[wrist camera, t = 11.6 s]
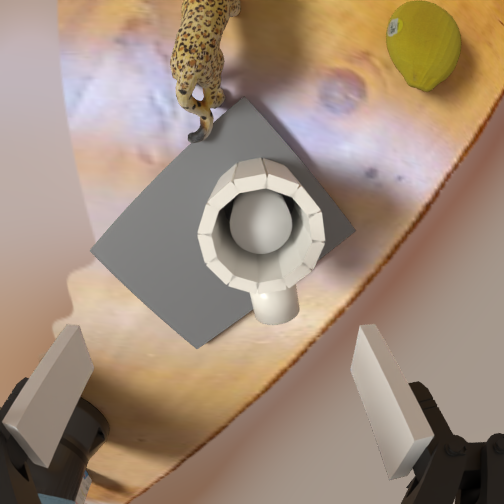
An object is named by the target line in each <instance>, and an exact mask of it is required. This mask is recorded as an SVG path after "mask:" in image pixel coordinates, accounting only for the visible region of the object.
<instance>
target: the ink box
mask: <svg viewBox="0 0 504 504" xmlns="http://www.w3.org/2000/svg"><path fill="white" fill-rule="evenodd" d="M91 482H92V480H91V478H90V477H89V475H88V473H87V471H86V470H85V473H84V476H83V479H82V482H81V485H80V488H79V491H78V494H77V497H76V500H75V502H76V503H75V504H84V502H85V499H86V496H87V493H88V490H89V487H90V485H91Z"/></svg>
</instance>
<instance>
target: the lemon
mask: <svg viewBox="0 0 504 504" xmlns="http://www.w3.org/2000/svg"><path fill="white" fill-rule="evenodd" d="M386 43H387V49H388V52H389V55H390V57H391V59H392V61H393V63H394V65H395V66H396V68H397V69H398V70H399V72H400V73H401V74H402V75H403V77H404V79H405V80H406V82H407V84H408V85H409V86H410V87H414V88H417V89H419V90H422V91H425V92H429V91H431V90H432V89H434V88H435V87H436V86H437V85H438V84H439V83H440V82H442V81H444V80H445V79H446V78H447V77H448V76H449V75H450V74H451V73H452V72H453V70H454V69H455V67H456V64H457V62H458V59H459V56H460V51H461V35H460V31H459V28H458V26H457V24H456V22H455V20H454V19H453V18H452V16H451V15H450V14H449V13H448V12H447V11H445V10H444V9H442V8H441V7H439V6H437V5H436V4H434V3H431V2H427V1H410V2H406V3H405V4H403V5H401V6H400V7H399V8H398V9H397V10H396V11H395V12H394V13H393V15H392V16H391V18H390V21H389V23H388V27H387V33H386Z"/></svg>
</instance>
